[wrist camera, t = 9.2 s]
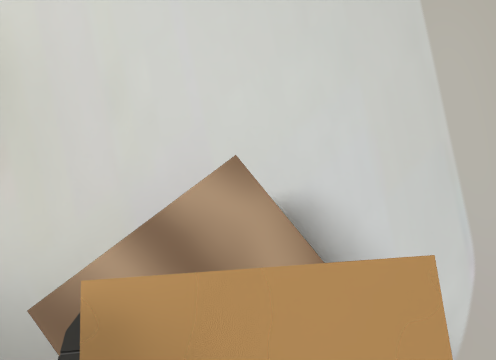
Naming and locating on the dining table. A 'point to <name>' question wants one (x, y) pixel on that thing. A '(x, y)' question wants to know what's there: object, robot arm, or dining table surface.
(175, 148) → the dining table surface
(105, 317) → the block
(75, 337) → the robot arm
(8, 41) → the dining table surface
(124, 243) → the stand
